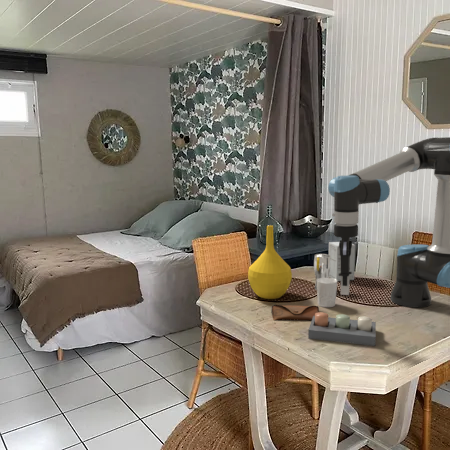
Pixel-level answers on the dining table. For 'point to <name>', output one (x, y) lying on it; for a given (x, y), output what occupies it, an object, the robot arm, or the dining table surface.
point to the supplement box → (339, 261)
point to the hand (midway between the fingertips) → (344, 293)
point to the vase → (269, 272)
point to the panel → (342, 333)
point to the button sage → (342, 321)
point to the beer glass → (321, 266)
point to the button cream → (364, 323)
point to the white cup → (326, 291)
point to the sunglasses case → (293, 312)
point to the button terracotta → (321, 319)
